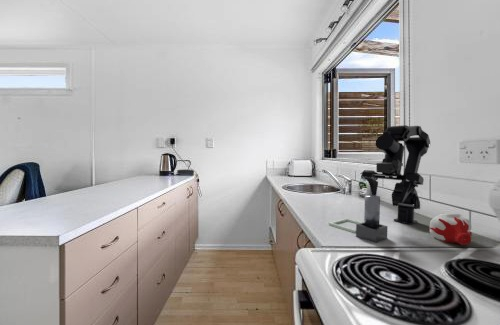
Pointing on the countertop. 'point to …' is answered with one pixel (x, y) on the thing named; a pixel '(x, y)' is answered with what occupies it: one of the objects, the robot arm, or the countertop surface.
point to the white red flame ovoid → (451, 228)
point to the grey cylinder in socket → (371, 221)
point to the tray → (343, 226)
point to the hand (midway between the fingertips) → (387, 200)
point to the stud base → (371, 241)
